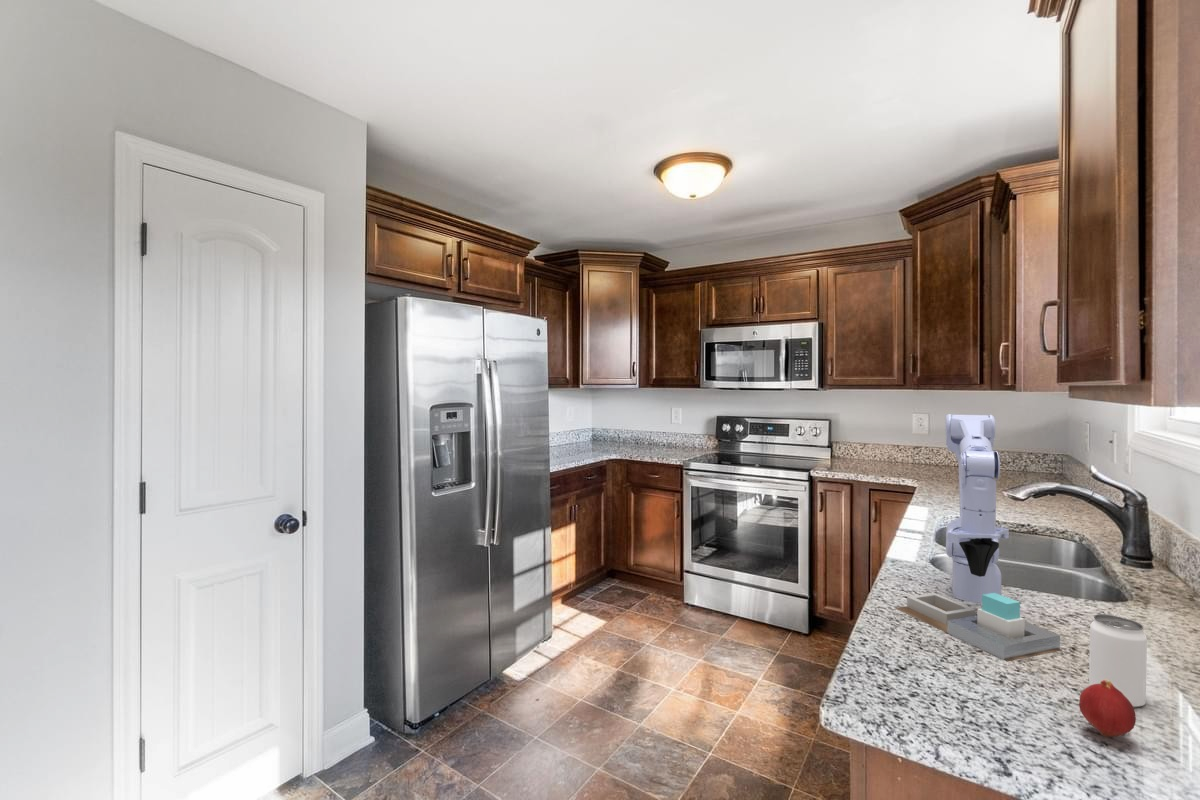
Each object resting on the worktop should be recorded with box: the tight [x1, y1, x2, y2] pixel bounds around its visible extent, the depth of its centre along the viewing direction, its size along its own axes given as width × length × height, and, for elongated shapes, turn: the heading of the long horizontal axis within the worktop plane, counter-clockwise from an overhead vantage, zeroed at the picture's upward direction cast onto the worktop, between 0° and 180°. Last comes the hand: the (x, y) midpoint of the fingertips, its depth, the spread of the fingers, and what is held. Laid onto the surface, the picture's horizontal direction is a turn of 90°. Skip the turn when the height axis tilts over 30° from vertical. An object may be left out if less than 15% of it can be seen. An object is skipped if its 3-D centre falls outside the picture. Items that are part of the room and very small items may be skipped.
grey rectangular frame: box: [906, 592, 977, 625], centre depth 114 cm, size 8×10×2 cm
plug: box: [976, 593, 1026, 639], centre depth 102 cm, size 4×6×8 cm, turn 17°
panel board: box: [895, 605, 1063, 667], centre depth 108 cm, size 14×24×1 cm, turn 17°
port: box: [946, 616, 1061, 661], centre depth 102 cm, size 14×11×2 cm
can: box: [1088, 613, 1148, 708], centre depth 85 cm, size 6×6×12 cm
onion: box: [1078, 680, 1137, 738], centre depth 75 cm, size 6×6×8 cm
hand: (977, 574), depth 110 cm, fingers closed
